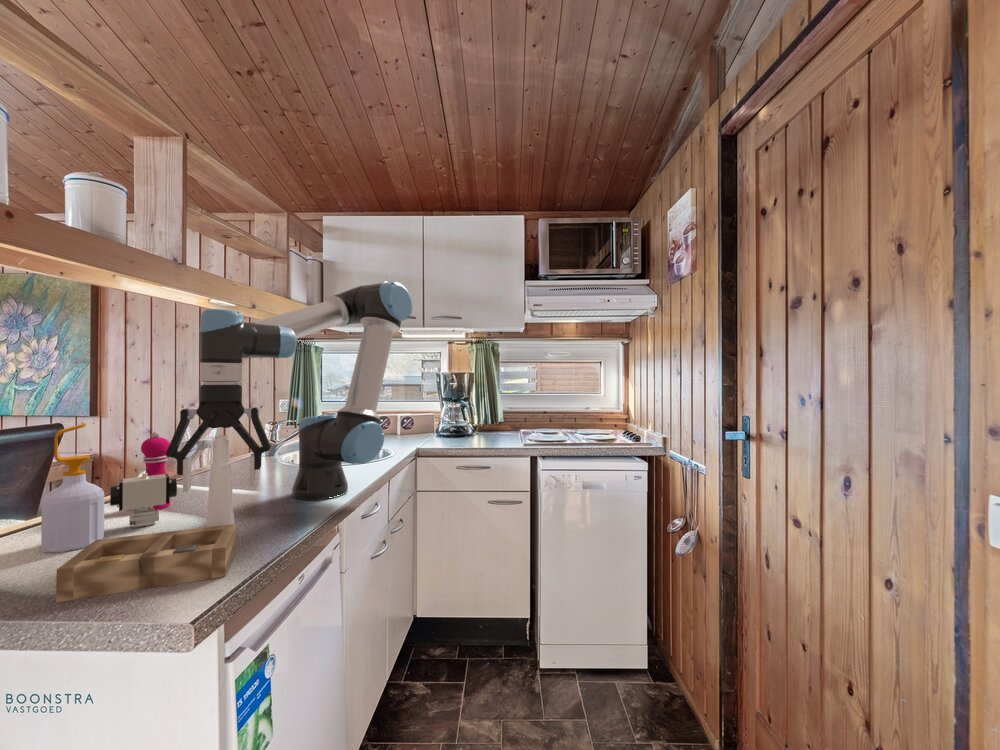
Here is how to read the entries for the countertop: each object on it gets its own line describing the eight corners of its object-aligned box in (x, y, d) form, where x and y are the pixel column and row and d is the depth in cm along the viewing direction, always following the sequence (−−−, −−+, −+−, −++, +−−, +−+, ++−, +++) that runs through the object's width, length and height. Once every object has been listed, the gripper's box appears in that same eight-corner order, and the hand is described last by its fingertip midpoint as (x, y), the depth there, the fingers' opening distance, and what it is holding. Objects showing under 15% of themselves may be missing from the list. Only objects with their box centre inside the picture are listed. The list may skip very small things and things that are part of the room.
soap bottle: (104, 544, 88) (105, 424, 88) (39, 557, 82) (40, 428, 82) (103, 533, 94) (104, 421, 95) (42, 544, 88) (43, 424, 88)
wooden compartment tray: (237, 548, 86) (237, 522, 86) (225, 576, 74) (225, 545, 74) (95, 567, 77) (95, 538, 77) (56, 602, 66) (56, 567, 66)
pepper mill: (135, 507, 113) (136, 431, 113) (170, 501, 118) (170, 428, 118) (139, 513, 108) (139, 433, 108) (174, 507, 113) (175, 431, 113)
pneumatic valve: (176, 522, 102) (177, 471, 102) (109, 533, 94) (110, 479, 94) (174, 516, 106) (175, 467, 106) (110, 527, 98) (111, 474, 98)
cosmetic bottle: (243, 535, 94) (243, 434, 94) (225, 546, 88) (226, 437, 88) (215, 535, 94) (216, 433, 94) (195, 545, 88) (196, 437, 88)
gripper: (145, 384, 83) (144, 498, 83) (282, 383, 92) (281, 486, 92) (158, 383, 90) (157, 488, 89) (284, 383, 99) (284, 478, 99)
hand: (220, 487), depth 91 cm, fingers open, 11 cm apart
